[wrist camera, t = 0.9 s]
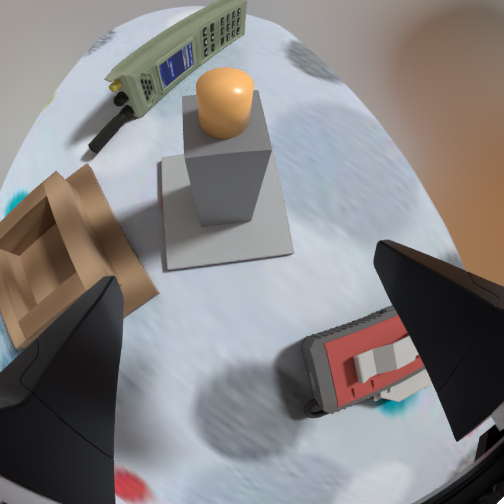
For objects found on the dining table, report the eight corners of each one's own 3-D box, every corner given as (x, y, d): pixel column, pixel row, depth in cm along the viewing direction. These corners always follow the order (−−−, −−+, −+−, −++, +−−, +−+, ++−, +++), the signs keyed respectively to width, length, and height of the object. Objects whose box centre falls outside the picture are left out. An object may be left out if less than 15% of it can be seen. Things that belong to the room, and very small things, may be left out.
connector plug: (251, 221, 23) (281, 116, 10) (201, 227, 22) (176, 125, 9) (244, 176, 23) (264, 56, 11) (197, 182, 23) (177, 62, 10)
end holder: (159, 293, 21) (141, 287, 16) (47, 373, 18) (15, 382, 14) (91, 168, 23) (69, 140, 18) (-2, 249, 20) (-32, 237, 15)
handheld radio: (248, 36, 29) (107, 163, 23) (228, 29, 29) (88, 151, 24) (251, -3, 23) (78, 122, 17) (229, -8, 23) (59, 112, 17)
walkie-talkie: (306, 431, 20) (465, 350, 23) (322, 452, 16) (492, 351, 19) (283, 339, 22) (453, 276, 25) (297, 346, 17) (481, 270, 20)
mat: (292, 253, 23) (294, 252, 22) (168, 270, 22) (167, 269, 21) (271, 148, 25) (272, 145, 24) (162, 160, 24) (161, 157, 23)
